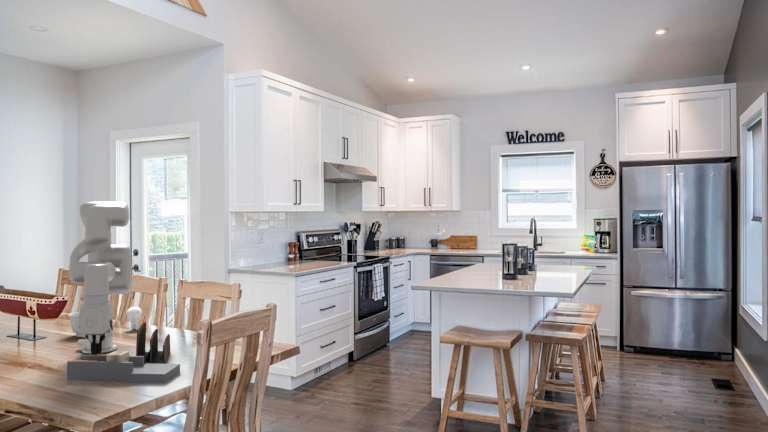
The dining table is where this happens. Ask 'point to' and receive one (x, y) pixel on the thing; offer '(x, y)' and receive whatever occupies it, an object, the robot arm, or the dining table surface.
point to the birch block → (118, 356)
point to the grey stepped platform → (120, 370)
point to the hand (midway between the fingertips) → (96, 353)
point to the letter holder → (152, 347)
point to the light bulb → (134, 316)
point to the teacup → (74, 322)
